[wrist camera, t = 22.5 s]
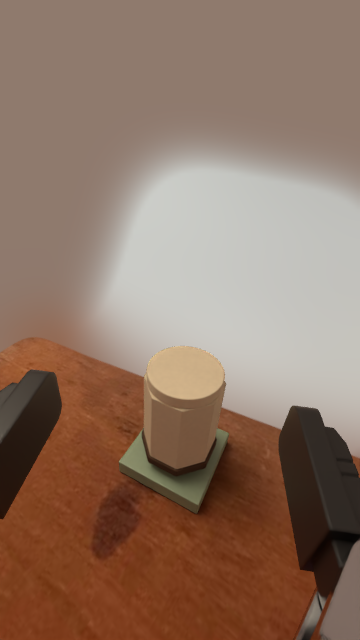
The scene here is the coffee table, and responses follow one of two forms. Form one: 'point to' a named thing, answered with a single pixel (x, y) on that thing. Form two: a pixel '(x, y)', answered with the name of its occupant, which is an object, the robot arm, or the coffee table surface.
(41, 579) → the coffee table surface
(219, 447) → the green square peg base
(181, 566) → the coffee table surface
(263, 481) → the coffee table surface
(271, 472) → the coffee table surface
